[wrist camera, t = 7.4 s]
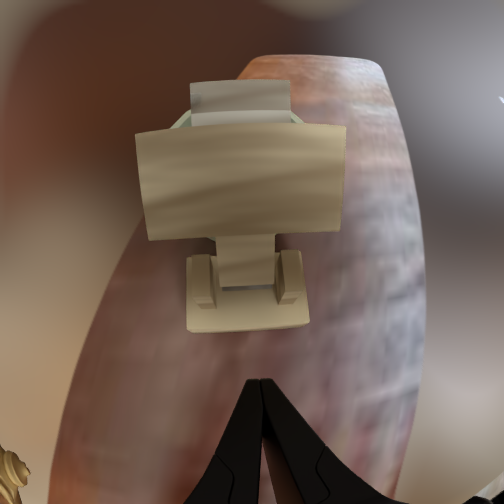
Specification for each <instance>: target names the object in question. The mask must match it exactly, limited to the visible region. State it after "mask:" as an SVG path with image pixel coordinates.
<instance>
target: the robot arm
mask: <svg viewBox="0 0 504 504" xmlns="http://www.w3.org/2000/svg"><path fill="white" fill-rule="evenodd" d="M262 443H263V447H264V451H265V456H266V460H267V464H268V469H269V473H270V477H271V481H272V485H273V490H274V494H275V498H276V502H277V504H408V503H404V502H399V501H396V500H393V499H390V498H388V497H386V496H384V495H382V494H381V493H379V492H378V491H376V490H375V489H374V488H372V487H371V486H370V485H369V484H367V483H366V482H365V481H363V480H362V479H361V478H360V477H358V476H357V475H356V474H355V473H354V472H352V471H351V470H350V469H349V468H348V467H347V466H346V465H344V464H343V463H342V462H341V461H340V460H339V459H338V458H337V457H336V455H335V454H334V453H333V452H332V451H331V450H330V449H329V448H328V446H325V445H326V444H325V443H324V442H323V441H322V440H321V439H320V437H319V436H318V435H317V434H316V433H315V431H314V430H313V429H312V428H311V427H310V426H309V424H308V423H307V422H306V421H305V419H304V418H303V417H302V416H301V415H300V413H299V412H298V411H297V410H296V408H295V407H294V406H293V405H292V404H291V402H290V401H289V400H288V399H287V397H286V396H285V395H284V393H283V392H282V391H281V390H280V388H279V387H278V386H277V385H276V383H275V382H274V381H273V379H271V378H263V379H260V380H259V379H247V380H246V382H245V385H244V387H243V389H242V392H241V394H240V396H239V399H238V401H237V403H236V406H235V408H234V410H233V413H232V415H231V417H230V420H229V422H228V424H227V426H226V429H225V431H224V433H223V435H222V438H221V440H220V442H219V444H218V446H217V448H216V451H215V454H214V455H213V457H212V459H211V461H210V463H209V465H208V467H207V469H206V471H205V473H204V475H203V476H202V478H201V479H200V481H199V482H198V484H197V485H196V487H195V488H194V490H193V491H192V493H191V494H190V495H189V497H188V498H187V499H186V501H185V502H184V503H183V504H258V496H259V481H260V465H261V448H262ZM462 504H504V490H503V491H501V492H500V493H499V494H498V495H496V496H495V497H494V498H492V499H491V500H488V499H486V498H482V497H478V496H473V497H472V498H470V499H469V500H467V501H466V502H464V503H462Z"/></svg>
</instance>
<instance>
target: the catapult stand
mask: <svg viewBox="0 0 504 504" xmlns="http://www.w3.org/2000/svg"><path fill="white" fill-rule="evenodd" d="M186 314H187V330H189V331H191V332H192V333H222V332H243V331H259V330H272V329H284V328H295V327H303V326H304V325H306V324H307V323H309V322H310V320H309V311H308V303H307V294H306V287H305V279H304V271H303V264H302V257H301V251H299V252H298V249H293V250H281V251H280V253H275V269H274V284H272V289H258V290H241V291H222V287H220V283H219V272H218V262H217V256H210V254H198V255H192V257H187V270H186Z"/></svg>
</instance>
